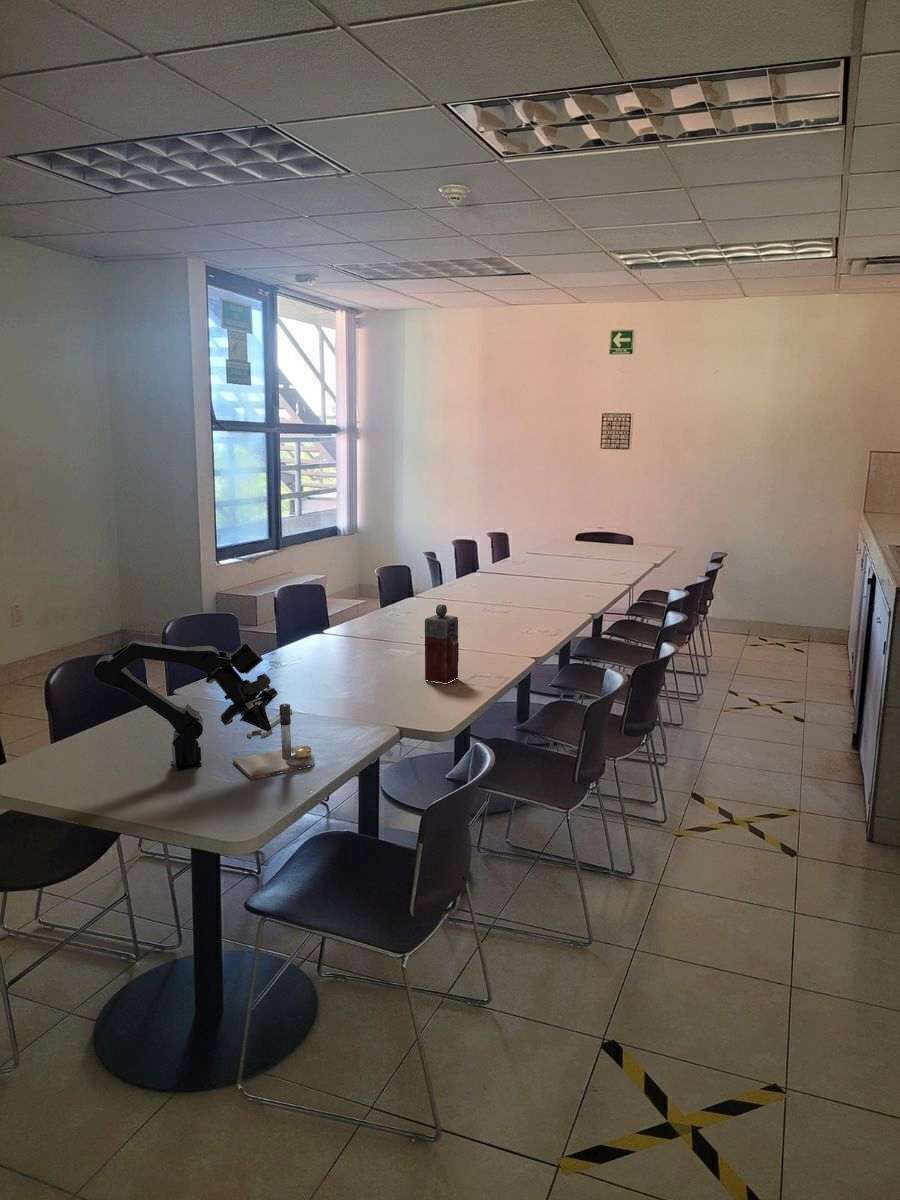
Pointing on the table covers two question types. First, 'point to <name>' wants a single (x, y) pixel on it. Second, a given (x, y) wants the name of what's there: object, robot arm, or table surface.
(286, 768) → the brown wooden board
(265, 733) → the adjustable wrench
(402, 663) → the table surface
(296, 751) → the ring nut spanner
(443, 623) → the knobbed red-grey post
